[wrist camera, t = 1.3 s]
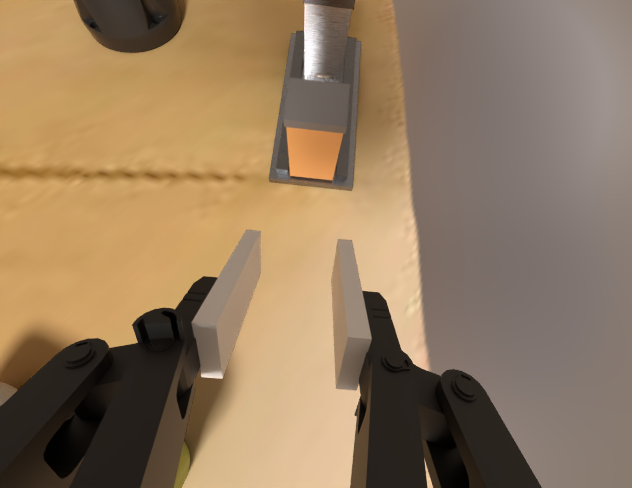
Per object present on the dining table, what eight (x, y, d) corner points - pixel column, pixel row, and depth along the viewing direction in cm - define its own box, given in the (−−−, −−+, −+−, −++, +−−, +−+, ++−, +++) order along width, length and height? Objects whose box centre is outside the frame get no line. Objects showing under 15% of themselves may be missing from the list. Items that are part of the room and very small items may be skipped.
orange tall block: (333, 181, 37) (346, 127, 26) (288, 176, 36) (283, 119, 26) (336, 149, 38) (349, 84, 28) (292, 144, 38) (289, 77, 27)
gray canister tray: (351, 190, 38) (373, 135, 27) (269, 182, 38) (255, 122, 26) (359, 47, 46) (379, -44, 34) (291, 39, 45) (288, -56, 34)
